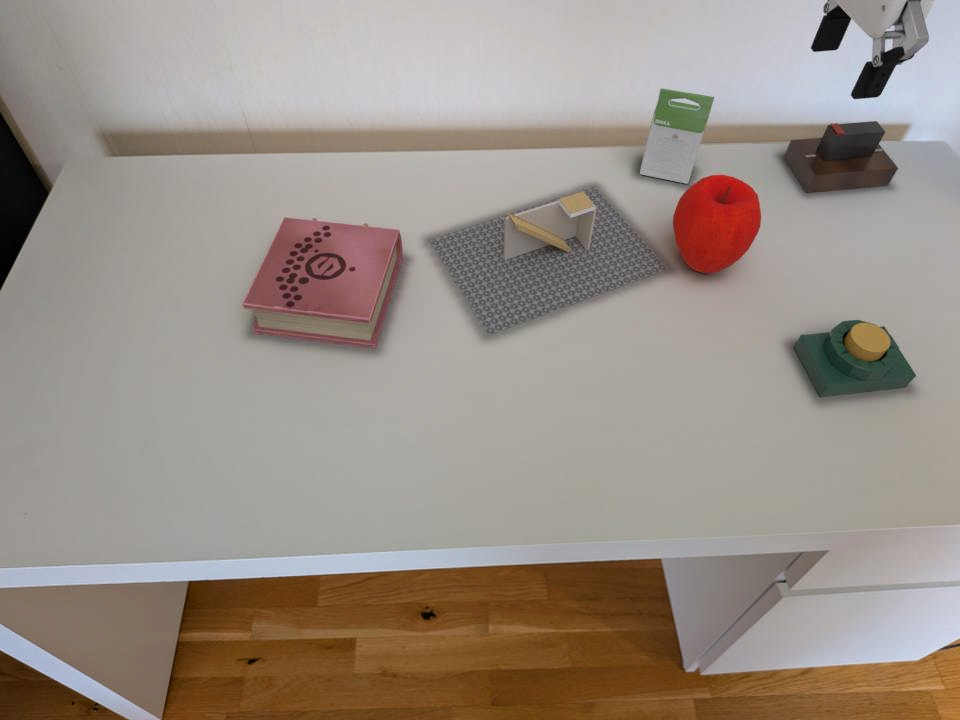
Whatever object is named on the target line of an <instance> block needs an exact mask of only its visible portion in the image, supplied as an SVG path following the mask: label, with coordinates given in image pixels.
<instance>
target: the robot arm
mask: <svg viewBox="0 0 960 720" xmlns="http://www.w3.org/2000/svg"><path fill="white" fill-rule="evenodd" d="M934 3H935V0H827V1H826V2H825V3H824V4H823V8H822V11H823V14H824V15H823V16H822V18H821V21H820V24H819V25H818V29H817V31H816V33H815V36H814V39H813V41H812V43H811V46H810V49H811V51H812V52H814V53H819V52H829V51H830V52H831V51H832V52H833V51H837V50H839V48H840V47H841V44H842V41H843V39H844V36H845V34H846V32H847V30H848V28H849V25H850V24H851V21H853V22H854V23H855V24H856V25H857V26H858V27H859V29H861V30H862V31H863V32H864V33H865V34H866V35H867V36H868V37H869V38H871V39H872V46H871V47H872V49H871V61H866V62H865V64H864V66H863V68H862V70H861V71H860V74H859V75H858V77H857V80H856V82H855V84H854V86H853V89H852V90H851V93H850V96H851V98H852V99H853V100H863V99H873V98H874V99H875V98H878V97H880V96H881V95H882V94H883V91H884V89H885V88H886V86H887V84H888V82H889V80H890V78H891V76H892V74H893V72H894V71H895V68H896V66H900V65H903V63H904V62H907V61H909V60H912V59H913V58H914V57H915V55H916V54H917V53H918V52H919V51H920V50H922V48H924V47H925V46H926V45H927V44H928V43H929V40H930V35H929V31H928V27H927V23H926V20H927V17H928V15H929V13H930V11H931V9H932V7H933V5H934ZM891 27H894V30H889V29H890V28H891ZM886 40H887V41H888V40H892V48H891V49H888V50H886Z"/></svg>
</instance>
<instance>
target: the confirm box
mask: <svg viewBox="0 0 960 720" xmlns="http://www.w3.org/2000/svg"><path fill="white" fill-rule="evenodd" d="M858 323H869V322H868V321H864V320H862V319H852V320H850V319H849V320H842V321H840V322H839V323H838V324H837V325H835V326H834V327H833V328H832V329H831V330H830V331H828V332H819V333H809V334H800V336H799V337H798V339H797V341H796V342H795V344H794V345H793V349H794V351H795V352H796V355H797V356H798V358H799V360H800V362H801V365H802V366H803V368H804V369H805V371H806V373H807V375H808V377H809V379H810V381H811V383H812V385H813V387H814V389H815V391H816V392H817V394H818V396H819V398H824V397H835V396H842V395H843V396H844V395H851V394H858V393H869V392H875V391H876V392H877V391H884V390H885V391H886V390H894V389H901V388H906V387H908V386H909V385H910V383H911V382H912V381H913V380H914V379H915V378H916V377H917V374H916V372H915V371H914V370H913V367H911V365H910V364H909V362H908V360H907V359H906V357H905V356H904V354H903V353H902V351H901V349H900V347H899V345H898V343H897V342H896V340H895V339H894V337H893V336H892V335H891V334H890V332H889V331H888V329H887V328H886V326H884V325H882V326H881V325H880V326H879V327H880V328H882V329H883V330H884V331H885V332H886V333H887V334H888V336H889V338H890V347H889V348H888V349H887V351H886V352H885V353H884V354H883V356H882V357H881V358H880V359H878V360H876V361H871V362H869V361H864V360H860V359H857V358H856V357H855V356H853V355H852V354H850V353H849V352H848V351H847V350H846V348H845V345H844V339H845V337H846V336H847V334H848V333H849V331H850V330H851V329H852V327H853V326H854V325H856V324H858ZM870 323H871V322H870ZM871 324H874V325H876V323H871Z"/></svg>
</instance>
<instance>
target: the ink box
mask: <svg viewBox="0 0 960 720" xmlns="http://www.w3.org/2000/svg"><path fill="white" fill-rule="evenodd" d="M684 99H685V100H688V101H691V102H692V103H693V102H694V103H695V104H698V105H695V104H690V103H684V102H680V101H675V100H684ZM714 100H715V96H712V95H705V94H699V93H693V92H686V91H681V90H675V89H668V88H662V87H660V88H659V92H658V98H657V102H656V106H655V108H654V111H653V114H652V118H651V122H650V126H649V129H648V130H649V131H648V134H647V139H646V143H645V147H644V151H643V156H642V160H641V164H640V170H639V175H643V176H647V177H651V178H657V179H661V180H662V179H663V180H666V181H671V182H676V183H681V184H684V185H685V184H686V185H688V184H689V182H690V179H691V176H692V173H693V169H694V166H695V163H696V160H697V156H698V152H699V150H700V146H701V144H702V140H703V137H704V134H705V130H706V127H707V124H708V121H709V117H710V113H711V110H712V107H713V104H714Z"/></svg>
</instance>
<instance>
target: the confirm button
mask: <svg viewBox="0 0 960 720" xmlns="http://www.w3.org/2000/svg"><path fill="white" fill-rule="evenodd" d="M874 324H875V323H872V324H871V322H868V323H858V324H856V325H854V326H853V327H852V329H851V330H850V331H849V333H848V334H847V336H846V337H845V339H844V345H845V348H846V350H847V351H848V352H849V353H850V354H852V355H853V356H855V357H856V358H857V359H860V360H864V361H869V362H871V361H876V360H878V359H880V358H881V357H882V356H883V354H884V353H885V352H886V351H887V349H888V348H889V347H890V338H889V336H888V334H887V333H886V332H885V331H884V330H883V329H882V328H880V327H881V326H879V325H877V324H875V325H874Z"/></svg>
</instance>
